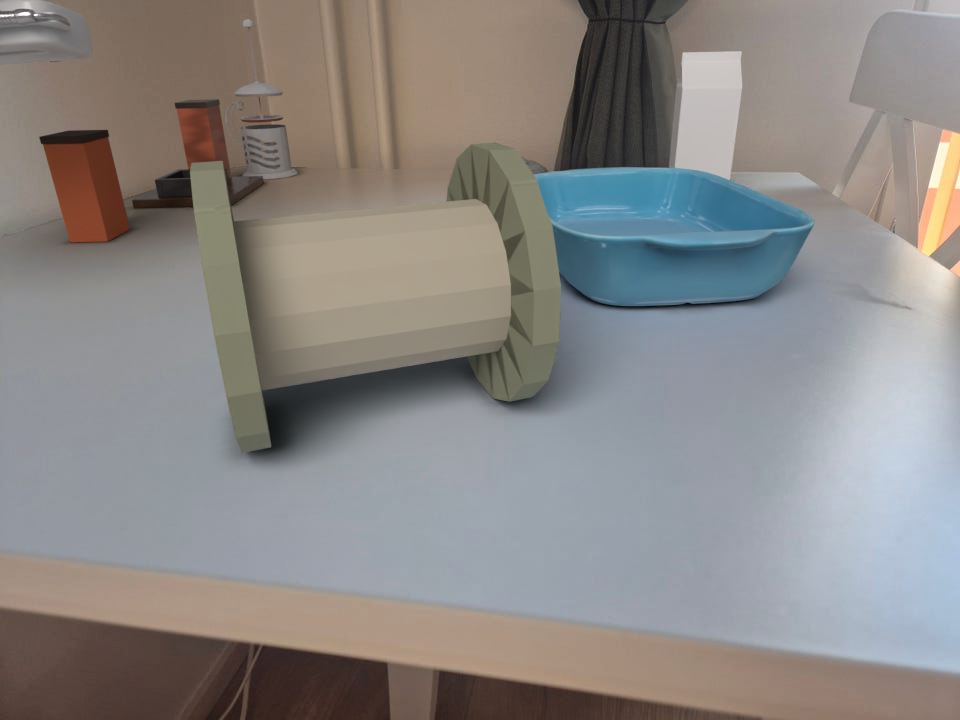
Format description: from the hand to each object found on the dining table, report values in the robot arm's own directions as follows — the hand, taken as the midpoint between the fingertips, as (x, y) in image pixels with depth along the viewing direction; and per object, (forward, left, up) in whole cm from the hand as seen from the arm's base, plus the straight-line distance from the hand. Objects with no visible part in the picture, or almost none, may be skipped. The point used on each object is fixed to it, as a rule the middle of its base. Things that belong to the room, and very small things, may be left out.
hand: (7, 56), depth 67 cm
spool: (+39, -37, -20) cm, 58 cm away
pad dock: (+4, +34, -20) cm, 39 cm away
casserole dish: (+62, -8, -20) cm, 66 cm away
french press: (+9, +52, -20) cm, 56 cm away
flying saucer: (+51, +32, -20) cm, 63 cm away
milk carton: (+76, +18, -20) cm, 81 cm away
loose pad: (0, +9, -20) cm, 22 cm away
